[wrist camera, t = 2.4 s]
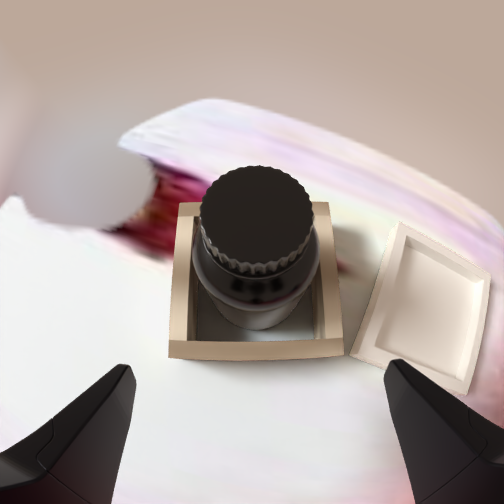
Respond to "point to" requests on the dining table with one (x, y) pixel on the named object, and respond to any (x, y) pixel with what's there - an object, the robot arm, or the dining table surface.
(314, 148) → the dining table surface
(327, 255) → the frame
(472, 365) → the dock
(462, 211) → the dining table surface
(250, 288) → the supplement bottle
